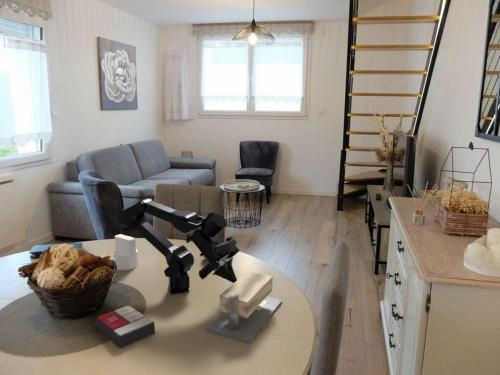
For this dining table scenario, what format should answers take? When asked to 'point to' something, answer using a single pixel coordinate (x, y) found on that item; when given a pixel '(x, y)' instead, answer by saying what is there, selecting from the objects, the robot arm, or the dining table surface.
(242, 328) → the label board
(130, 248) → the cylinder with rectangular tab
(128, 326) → the red and grey box
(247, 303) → the beige wooden block
